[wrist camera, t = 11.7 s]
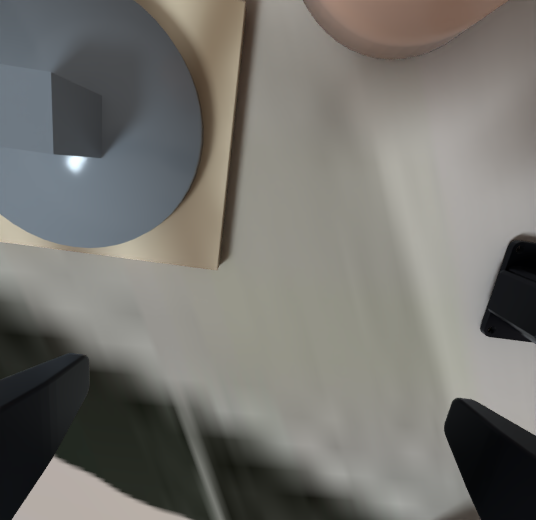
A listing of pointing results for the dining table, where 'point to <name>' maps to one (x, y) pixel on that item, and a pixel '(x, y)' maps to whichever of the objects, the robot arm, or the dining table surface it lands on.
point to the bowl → (397, 23)
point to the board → (214, 137)
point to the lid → (93, 121)
